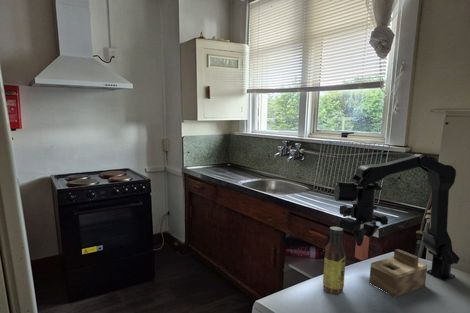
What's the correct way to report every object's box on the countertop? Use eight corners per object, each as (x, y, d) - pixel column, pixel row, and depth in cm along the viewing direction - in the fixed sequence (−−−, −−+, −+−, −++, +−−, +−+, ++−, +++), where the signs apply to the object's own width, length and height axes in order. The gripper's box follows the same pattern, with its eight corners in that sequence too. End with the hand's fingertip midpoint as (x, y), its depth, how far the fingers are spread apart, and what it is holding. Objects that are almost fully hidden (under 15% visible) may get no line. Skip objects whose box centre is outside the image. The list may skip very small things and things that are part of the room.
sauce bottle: (344, 296, 92) (349, 233, 90) (323, 293, 93) (327, 231, 91) (341, 285, 98) (345, 226, 96) (321, 283, 99) (325, 224, 97)
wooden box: (399, 273, 108) (400, 257, 107) (425, 285, 100) (426, 268, 99) (369, 283, 100) (370, 266, 99) (394, 297, 92) (396, 278, 91)
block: (360, 255, 109) (362, 234, 109) (367, 258, 107) (369, 236, 106) (354, 257, 108) (356, 235, 107) (361, 260, 105) (363, 238, 105)
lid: (400, 257, 107) (401, 246, 106) (426, 268, 99) (428, 256, 99) (370, 265, 99) (371, 254, 99) (396, 278, 91) (397, 265, 91)
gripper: (363, 194, 117) (360, 233, 118) (328, 199, 108) (325, 241, 110) (390, 201, 107) (386, 243, 109) (353, 206, 98) (350, 252, 100)
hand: (362, 244), depth 107 cm, fingers closed on block, 3 cm apart
